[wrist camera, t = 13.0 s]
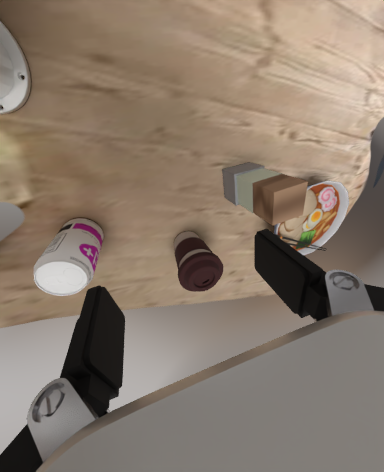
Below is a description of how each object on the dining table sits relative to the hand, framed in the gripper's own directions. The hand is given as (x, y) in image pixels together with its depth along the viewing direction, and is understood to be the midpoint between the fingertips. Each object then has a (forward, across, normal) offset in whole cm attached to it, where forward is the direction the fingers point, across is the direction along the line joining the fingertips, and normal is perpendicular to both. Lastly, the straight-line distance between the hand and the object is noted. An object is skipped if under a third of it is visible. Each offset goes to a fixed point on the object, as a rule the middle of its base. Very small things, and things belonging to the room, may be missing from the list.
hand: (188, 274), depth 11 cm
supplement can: (+32, +18, +9) cm, 38 cm away
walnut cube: (+20, -20, +7) cm, 29 cm away
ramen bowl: (+32, -38, +22) cm, 55 cm away
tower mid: (+26, -20, +7) cm, 34 cm away
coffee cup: (+32, -4, +20) cm, 38 cm away
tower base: (+32, -20, +7) cm, 39 cm away
